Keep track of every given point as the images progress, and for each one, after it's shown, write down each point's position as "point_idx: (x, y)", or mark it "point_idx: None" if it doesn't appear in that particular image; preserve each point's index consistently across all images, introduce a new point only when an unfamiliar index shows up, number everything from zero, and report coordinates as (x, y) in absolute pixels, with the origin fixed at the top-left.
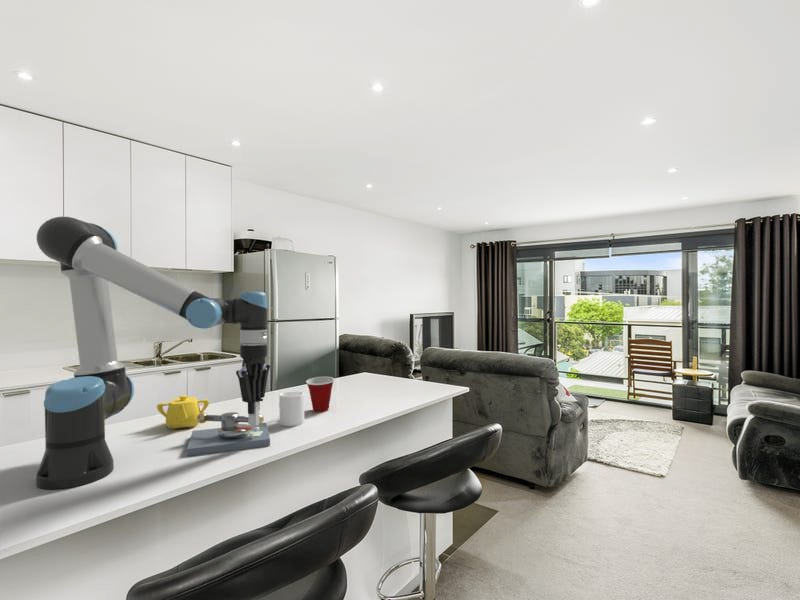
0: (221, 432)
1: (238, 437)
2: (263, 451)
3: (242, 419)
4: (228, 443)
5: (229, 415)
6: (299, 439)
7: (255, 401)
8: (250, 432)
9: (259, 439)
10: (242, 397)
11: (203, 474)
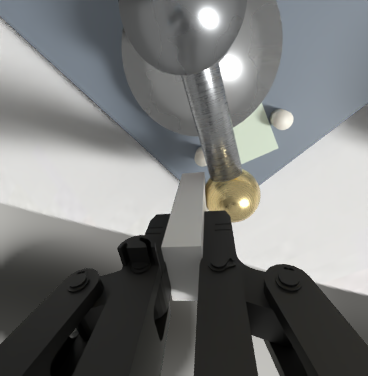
0: (122, 44)
1: None
2: None
3: (195, 123)
4: (120, 119)
5: (158, 28)
6: (294, 246)
7: (167, 307)
8: None
9: None
10: (42, 310)
11: (3, 184)
